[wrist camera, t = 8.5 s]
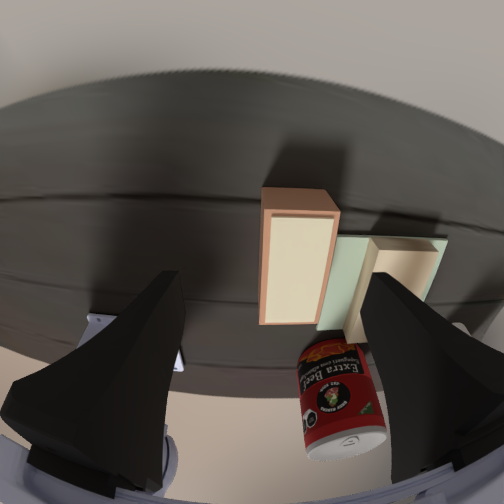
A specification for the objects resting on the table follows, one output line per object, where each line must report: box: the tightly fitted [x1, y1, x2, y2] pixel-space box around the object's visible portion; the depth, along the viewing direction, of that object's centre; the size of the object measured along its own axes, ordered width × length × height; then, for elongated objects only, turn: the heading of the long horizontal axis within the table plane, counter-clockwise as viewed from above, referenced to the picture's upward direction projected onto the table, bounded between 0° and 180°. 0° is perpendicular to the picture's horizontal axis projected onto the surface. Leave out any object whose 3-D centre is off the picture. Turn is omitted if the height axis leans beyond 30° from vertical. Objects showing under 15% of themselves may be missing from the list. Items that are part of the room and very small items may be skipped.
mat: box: [316, 234, 448, 330], centre depth 23 cm, size 11×10×1 cm
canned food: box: [296, 339, 387, 461], centre depth 24 cm, size 8×8×11 cm
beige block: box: [343, 236, 439, 344], centre depth 22 cm, size 6×10×2 cm, turn 178°
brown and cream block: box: [258, 187, 340, 325], centre depth 20 cm, size 4×9×4 cm, turn 179°
